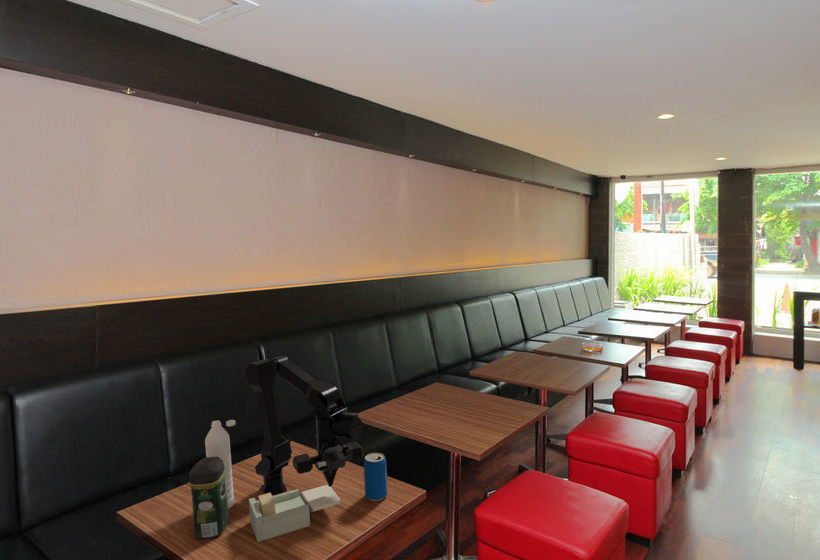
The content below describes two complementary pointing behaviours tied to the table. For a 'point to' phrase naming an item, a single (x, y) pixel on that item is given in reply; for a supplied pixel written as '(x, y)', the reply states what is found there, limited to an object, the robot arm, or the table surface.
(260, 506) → the block
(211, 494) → the coffee jar
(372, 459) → the beverage can
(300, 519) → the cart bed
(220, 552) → the table surface
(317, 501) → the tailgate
